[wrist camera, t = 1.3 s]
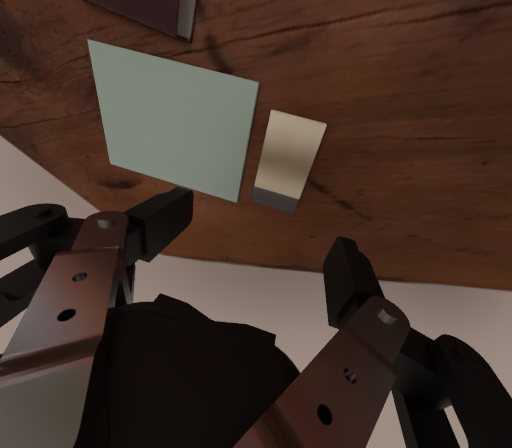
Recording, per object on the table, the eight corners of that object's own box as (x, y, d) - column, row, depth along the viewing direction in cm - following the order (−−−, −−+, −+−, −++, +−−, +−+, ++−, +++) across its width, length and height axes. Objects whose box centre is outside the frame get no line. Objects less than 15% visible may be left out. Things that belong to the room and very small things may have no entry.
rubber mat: (92, 40, 22) (87, 39, 22) (260, 83, 20) (258, 82, 20) (113, 162, 29) (110, 163, 29) (238, 201, 28) (236, 202, 27)
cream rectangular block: (275, 110, 21) (271, 109, 19) (324, 122, 21) (327, 124, 18) (256, 192, 27) (250, 200, 24) (294, 204, 26) (293, 214, 24)
